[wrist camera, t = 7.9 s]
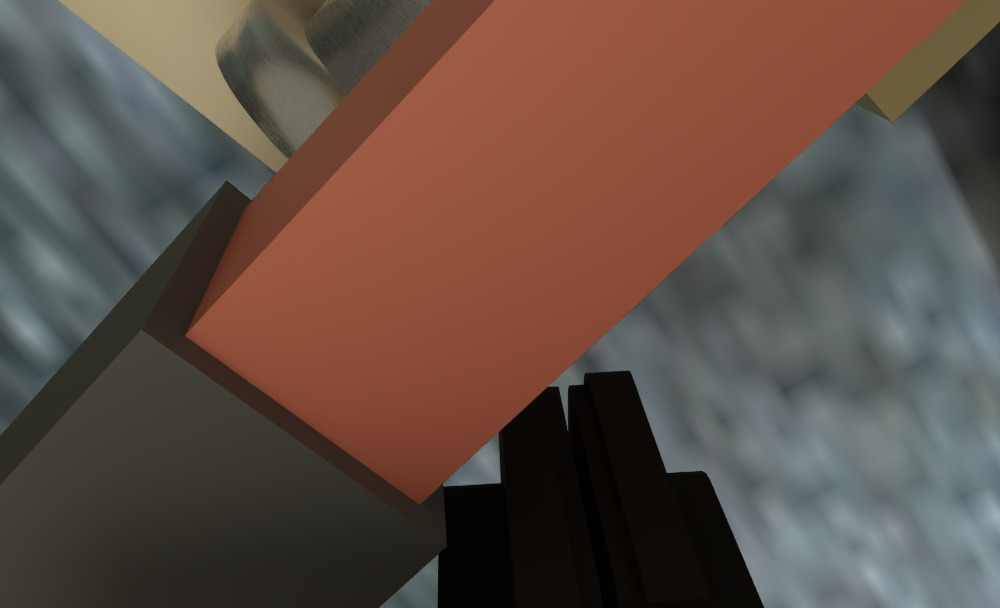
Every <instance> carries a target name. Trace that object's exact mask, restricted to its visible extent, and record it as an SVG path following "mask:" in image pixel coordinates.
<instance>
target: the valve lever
mask: <svg viewBox="0 0 1000 608" xmlns="http://www.w3.org/2000/svg"><path fill="white" fill-rule="evenodd" d="M965 1H966V0H433V1H432V2H431V3H430V4H429V5H428V6H427V7H426V8H425V9H424V11H423V12H422V13H421V14H420V15H419V16H418V17H417V18H416V19H415V20H414V22H413V23H412V24H411V25H410V26H409V27H408V28H407V29H406V30H405V32H404V33H403V34H402V35H401V36H400V37H399V38H398V39H397V40H396V42H395V43H394V44H393V45H392V46H391V47H390V48H389V49H388V50H387V51H386V53H385V54H384V55H383V56H382V57H381V58H380V59H379V60H378V61H377V63H376V64H375V65H374V66H373V67H372V68H371V69H370V70H369V71H368V73H367V74H366V75H365V76H364V77H363V78H362V79H361V80H360V81H359V82H358V84H357V85H356V86H355V87H354V88H353V89H352V90H351V91H350V92H349V94H348V95H347V96H346V97H345V98H344V99H343V100H342V101H341V102H340V104H339V105H338V106H337V107H336V108H335V109H334V110H333V111H332V112H331V113H330V115H329V116H328V117H327V118H326V119H325V120H324V121H323V122H322V123H321V125H320V126H319V127H318V128H317V129H316V130H315V131H314V132H313V133H312V135H311V136H310V137H309V138H308V139H307V140H306V141H305V142H304V143H303V145H302V146H301V147H300V148H299V149H298V150H297V151H296V152H295V153H294V154H293V156H292V157H291V158H290V159H289V160H288V161H287V162H286V163H285V164H284V166H283V167H282V168H281V169H280V170H279V171H278V172H277V173H276V174H275V176H274V177H273V178H272V179H271V180H270V181H269V182H268V183H267V184H266V185H265V187H264V188H263V189H262V190H261V191H260V192H259V193H258V194H257V195H256V197H255V198H254V199H253V200H250V199H249V198H248V197H247V196H245V195H244V194H243V193H242V192H240V191H239V190H238V189H237V188H235V187H234V186H233V185H232V184H230V183H229V182H228V181H226V182H225V183H224V184H223V185H222V187H221V188H220V189H219V190H218V191H217V192H216V193H215V194H214V196H213V197H212V198H211V199H210V200H209V201H208V202H207V203H206V205H205V206H204V207H203V208H202V209H201V210H200V211H199V212H198V214H197V215H196V216H195V217H194V218H193V219H192V220H191V221H190V223H189V224H188V225H187V226H186V227H185V228H184V229H183V231H182V232H181V233H180V234H179V235H178V236H177V237H176V238H175V240H174V241H173V242H172V243H171V244H170V245H169V246H168V247H167V249H166V250H165V251H164V252H163V253H162V254H161V255H160V256H159V258H158V259H157V260H156V261H155V262H154V263H153V264H152V265H151V267H150V268H149V269H148V270H147V271H146V272H145V273H144V274H143V276H142V277H141V278H140V279H139V280H138V281H137V282H136V283H135V285H134V286H133V287H132V288H131V289H130V290H129V291H128V292H127V294H126V295H125V296H124V297H123V298H122V299H121V300H120V301H119V303H118V304H117V305H116V306H115V307H114V308H113V309H112V311H111V312H110V313H109V314H108V315H107V316H106V317H105V318H104V320H103V321H102V322H101V323H100V324H99V325H98V326H97V327H96V329H95V330H94V331H93V332H92V333H91V334H90V335H89V336H88V338H87V339H86V340H85V341H84V342H83V343H82V344H81V345H80V347H79V348H78V349H77V350H76V351H75V352H74V353H73V354H72V356H71V357H70V358H69V359H68V360H67V361H66V362H65V363H64V365H63V366H62V367H61V368H60V369H59V370H58V371H57V372H56V374H55V375H54V376H53V377H52V378H51V379H50V380H49V381H48V383H47V384H46V385H45V386H44V387H43V388H42V389H41V390H40V392H39V393H38V394H37V395H36V396H35V397H34V398H33V400H32V401H31V402H30V403H29V404H28V405H27V406H26V407H25V409H24V410H23V411H22V412H21V413H20V414H19V415H18V416H17V418H16V419H15V420H14V421H13V422H12V423H11V424H10V425H9V427H8V428H7V429H6V430H5V431H4V432H3V433H2V434H1V436H0V608H379V607H380V606H381V605H382V604H383V603H384V602H386V601H387V600H388V599H389V598H390V597H391V596H392V595H393V594H394V593H396V592H397V591H398V590H399V589H400V588H401V587H402V586H403V585H405V584H406V583H407V582H408V581H409V580H410V579H411V578H412V577H413V576H415V575H416V574H417V573H418V572H419V571H420V570H421V569H422V568H423V567H425V566H426V565H427V564H428V563H429V562H430V561H431V560H432V559H433V558H435V557H436V556H437V555H438V554H439V553H440V552H441V551H442V550H443V549H445V548H446V547H447V539H446V523H445V507H444V491H443V483H444V482H445V481H446V480H447V479H448V478H449V477H450V476H452V475H453V474H454V473H455V472H456V471H457V470H458V469H459V468H460V467H461V466H462V465H463V464H465V463H466V462H467V461H468V460H469V459H470V458H471V457H472V456H473V455H474V454H475V453H476V452H478V451H479V450H480V449H481V448H482V447H483V446H484V445H485V444H486V443H487V442H488V441H489V440H491V439H492V438H493V437H494V436H495V435H496V434H497V433H498V432H499V431H500V430H501V429H502V428H504V427H505V426H506V425H507V424H508V423H509V422H510V421H511V420H512V419H513V418H514V417H515V416H517V415H518V414H519V413H520V412H521V411H522V410H523V409H524V408H525V407H526V406H527V405H528V404H530V403H531V402H532V401H533V400H534V399H535V398H536V397H537V396H538V395H539V394H540V393H541V392H543V391H544V390H545V389H546V388H547V387H548V386H549V385H550V384H551V383H552V382H553V381H554V380H556V379H557V378H558V377H559V376H560V375H561V374H562V373H563V372H564V371H565V370H566V369H567V368H569V367H570V366H571V365H572V364H573V363H574V362H575V361H576V360H577V359H578V358H579V357H580V356H582V355H583V354H584V353H585V352H586V351H587V350H588V349H589V348H590V347H591V346H592V345H593V344H594V343H596V342H597V341H598V340H599V339H600V338H601V337H602V336H603V335H604V334H605V333H606V332H607V331H609V330H610V329H611V328H612V327H613V326H614V325H615V324H616V323H617V322H618V321H619V320H620V319H622V318H623V317H624V316H625V315H626V314H627V313H628V312H629V311H630V310H631V309H632V308H633V307H635V306H636V305H637V304H638V303H639V302H640V301H641V300H642V299H643V298H644V297H645V296H646V295H648V294H649V293H650V292H651V291H652V290H653V289H654V288H655V287H656V286H657V285H658V284H659V283H661V282H662V281H663V280H664V279H665V278H666V277H667V276H668V275H669V274H670V273H671V272H672V271H674V270H675V269H676V268H677V267H678V266H679V265H680V264H681V263H682V262H683V261H684V260H685V259H687V258H688V257H689V256H690V255H691V254H692V253H693V252H694V251H695V250H696V249H697V248H698V247H700V246H701V245H702V244H703V243H704V242H705V241H706V240H707V239H708V238H709V237H710V236H711V235H713V234H714V233H715V232H716V231H717V230H718V229H719V228H720V227H721V226H722V225H723V224H724V223H726V222H727V221H728V220H729V219H730V218H731V217H732V216H733V215H734V214H735V213H736V212H737V211H738V210H740V209H741V208H742V207H743V206H744V205H745V204H746V203H747V202H748V201H749V200H750V199H751V198H753V197H754V196H755V195H756V194H757V193H758V192H759V191H760V190H761V189H762V188H763V187H764V186H766V185H767V184H768V183H769V182H770V181H771V180H772V179H773V178H774V177H775V176H776V175H777V174H779V173H780V172H781V171H782V170H783V169H784V168H785V167H786V166H787V165H788V164H789V163H790V162H792V161H793V160H794V159H795V158H796V157H797V156H798V155H799V154H800V153H801V152H802V151H803V150H805V149H806V148H807V147H808V146H809V145H810V144H811V143H812V142H813V141H814V140H815V139H816V138H818V137H819V136H820V135H821V134H822V133H823V132H824V131H825V130H826V129H827V128H828V127H829V126H831V125H832V124H833V123H834V122H835V121H836V120H837V119H838V118H839V117H840V116H841V115H842V114H844V113H845V112H846V111H847V110H848V109H849V108H850V107H851V106H852V105H853V104H854V103H855V102H857V101H858V100H859V99H860V98H861V97H862V96H863V95H864V94H865V93H866V92H867V91H868V90H870V89H871V88H872V87H873V86H874V85H875V84H876V83H877V82H878V81H879V80H880V79H881V78H882V77H884V76H885V75H886V74H887V73H888V72H889V71H890V70H891V69H892V68H893V67H894V66H895V65H897V64H898V63H899V62H900V61H901V60H902V59H903V58H904V57H905V56H906V55H907V54H908V53H910V52H911V51H912V50H913V49H914V48H915V47H916V46H917V45H918V44H919V43H920V42H921V41H923V40H924V39H925V38H926V37H927V36H928V35H929V34H930V33H931V32H932V31H933V30H934V29H936V28H937V27H938V26H939V25H940V24H941V23H942V22H943V21H944V20H945V19H946V18H947V17H949V16H950V15H951V14H952V13H953V12H954V11H955V10H956V9H957V8H958V7H959V6H960V5H962V4H963V3H964V2H965Z"/></svg>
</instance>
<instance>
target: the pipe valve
mask: <svg viewBox="0 0 1000 608" xmlns="http://www.w3.org/2000/svg"><path fill="white" fill-rule="evenodd" d="M432 1H433V0H326V1H325V3H324V4H323V5H322V6H321V8H320V9H319V10H316V9H315V8H313V7H311V6H310V5H308V4H306V3H305V2H303V1H301V0H251V1H250V2H249V4H248V5H247V6H246V7H245V9H244V10H243V11H242V12H241V14H240V15H239V16H238V17H237V19H236V20H235V21H234V22H233V24H232V25H231V26H230V27H229V29H228V30H227V31H226V32H225V34H224V35H223V36H222V37H221V39H220V40H219V41H218V43H217V45H216V46H215V56H216V60H217V64H218V66H219V68H220V71H221V73H222V75H223V77H224V79H225V81H226V82H227V84H228V86H229V88H230V89H231V91H232V93H233V94H234V95H235V97H236V98H237V100H238V101H239V103H240V104H241V105H242V107H243V108H244V110H245V111H246V112H247V113H248V115H249V116H250V117H251V118H252V120H253V121H254V122H255V123H256V125H257V126H258V127H259V128H260V129H261V131H262V132H263V133H264V134H265V135H266V136H267V137H268V138H269V140H270V141H271V142H272V143H273V144H274V145H275V146H276V147H277V148H278V150H279V151H280V152H281V153H282V154H283V155H284V156H285V157H286V158H287V159H288V160H289V159H290V158H291V157H292V156H293V154H294V153H295V152H296V151H297V150H298V149H299V148H300V147H301V146H302V145H303V143H304V142H305V141H306V140H307V139H308V138H309V137H310V136H311V135H312V133H313V132H314V131H315V130H316V129H317V128H318V127H319V126H320V125H321V123H322V122H323V121H324V120H325V119H326V118H327V117H328V116H329V115H330V113H331V112H332V111H333V110H334V109H335V108H336V107H337V106H338V105H339V104H340V102H341V101H342V100H343V99H344V98H345V97H346V96H347V95H348V94H349V92H350V91H351V90H352V89H353V88H354V87H355V86H356V85H357V84H358V82H359V81H360V80H361V79H362V78H363V77H364V76H365V75H366V74H367V73H368V71H369V70H370V69H371V68H372V67H373V66H374V65H375V64H376V63H377V61H378V60H379V59H380V58H381V57H382V56H383V55H384V54H385V53H386V51H387V50H388V49H389V48H390V47H391V46H392V45H393V44H394V43H395V42H396V40H397V39H398V38H399V37H400V36H401V35H402V34H403V33H404V32H405V30H406V29H407V28H408V27H409V26H410V25H411V24H412V23H413V22H414V20H415V19H416V18H417V17H418V16H419V15H420V14H421V13H422V12H423V11H424V9H425V8H426V7H427V6H428V5H429V4H430V3H431V2H432ZM999 22H1000V0H966V1H965V2H964V3H963V4H962V5H960V6H959V7H958V8H957V9H956V10H955V11H954V12H953V13H952V14H951V15H950V16H949V17H947V18H946V19H945V20H944V21H943V22H942V23H941V24H940V25H939V26H938V27H937V28H936V29H934V30H933V31H932V32H931V33H930V34H929V35H928V36H927V37H926V38H925V39H924V40H923V41H921V42H920V43H919V44H918V45H917V46H916V47H915V48H914V49H913V50H912V51H911V52H910V53H908V54H907V55H906V56H905V57H904V58H903V59H902V60H901V61H900V62H899V63H898V64H897V65H895V66H894V67H893V68H892V69H891V70H890V71H889V72H888V73H887V74H886V75H885V76H884V77H882V78H881V79H880V80H879V81H878V82H877V83H876V84H875V85H874V86H873V87H872V88H871V89H870V90H868V91H867V92H866V93H865V94H864V95H863V96H862V97H861V98H860V99H859V100H858V101H857V102H855V104H857V105H859V106H861V107H863V108H865V109H867V110H869V111H871V112H872V113H874V114H876V115H878V116H880V117H882V118H884V119H886V120H888V121H890V122H892V123H893V122H894V121H895V120H896V119H897V118H898V117H899V116H900V115H901V114H902V113H904V112H905V111H906V110H907V109H908V108H909V107H910V106H911V105H912V104H913V103H914V102H915V101H916V100H917V99H918V98H919V97H920V96H922V95H923V94H924V93H925V92H926V91H927V90H928V89H929V88H930V87H931V86H932V85H933V84H934V83H935V82H936V81H937V80H939V79H940V78H941V77H942V76H943V75H944V74H945V73H946V72H947V71H948V70H949V69H950V68H951V67H952V66H953V65H954V64H955V63H957V62H958V61H959V60H960V59H961V58H962V57H963V56H964V55H965V54H966V53H967V52H968V51H969V50H970V49H971V48H972V47H974V46H975V45H976V44H977V43H978V42H979V41H980V40H981V39H982V38H983V37H984V36H985V35H986V34H987V33H988V32H989V31H991V30H992V29H993V28H994V27H995V26H996V25H997V24H998V23H999Z"/></svg>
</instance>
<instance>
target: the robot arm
mask: <svg viewBox="0 0 1000 608" xmlns="http://www.w3.org/2000/svg"><path fill="white" fill-rule="evenodd" d="M499 450H500V473H501V483H496V484H480V485H463V486H446V487H443V491H444V507H445V523H446V539H447V547H446V548H445V549H443V550H442V551H441V552H440V553H439V557H438V608H764V606H763V604H762V602H761V599H760V597H759V594H758V592H757V590H756V587H755V585H754V583H753V580H752V578H751V576H750V573H749V571H748V568H747V566H746V564H745V561H744V559H743V557H742V554H741V552H740V550H739V547H738V545H737V542H736V540H735V538H734V535H733V533H732V531H731V528H730V526H729V523H728V521H727V519H726V516H725V514H724V512H723V509H722V507H721V505H720V502H719V500H718V497H717V495H716V493H715V490H714V488H713V486H712V483H711V481H710V479H709V477H708V476H707V474H706V473H705V472H703V471H694V472H678V473H667V472H666V469H665V467H664V464H663V461H662V458H661V455H660V453H659V450H658V447H657V444H656V441H655V439H654V436H653V433H652V430H651V427H650V425H649V422H648V419H647V416H646V413H645V411H644V408H643V405H642V402H641V399H640V397H639V394H638V391H637V388H636V385H635V383H634V380H633V377H632V374H631V372H630V371H614V372H597V373H585V376H584V385H572V386H569V388H568V430H567V425H566V420H565V415H564V411H563V406H562V401H561V396H560V391H559V387H558V386H556V387H547V388H546V389H545V390H544V391H543V392H541V393H540V394H539V395H538V396H537V397H536V398H535V399H534V400H533V401H532V402H531V403H530V404H528V405H527V406H526V407H525V408H524V409H523V410H522V411H521V412H520V413H519V414H518V415H517V416H515V417H514V418H513V419H512V420H511V421H510V422H509V423H508V424H507V425H506V426H505V427H504V428H502V429H501V430H500V431H499Z"/></svg>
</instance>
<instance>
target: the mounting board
mask: <svg viewBox="0 0 1000 608" xmlns="http://www.w3.org/2000/svg"><path fill="white" fill-rule="evenodd" d="M58 1H60V2H61V3H62V4H64V5H65V6H66V7H67V8H69V9H70V10H71V11H72V12H74V13H75V14H76V15H77V16H79V17H80V18H81V19H82V20H84V21H85V22H86V23H88V24H89V25H90V26H91V27H93V28H94V29H95V30H96V31H98V32H99V33H100V34H101V35H103V36H104V37H105V38H106V39H108V40H109V41H110V42H112V43H113V44H114V45H115V46H117V47H118V48H119V49H120V50H122V51H123V52H124V53H125V54H127V55H128V56H129V57H131V58H132V59H133V60H134V61H136V62H137V63H138V64H139V65H141V66H142V67H143V68H144V69H146V70H147V71H148V72H149V73H151V74H152V75H153V76H155V77H156V78H157V79H158V80H160V81H161V82H162V83H163V84H165V85H166V86H167V87H168V88H170V89H171V90H172V91H173V92H175V93H176V94H177V95H179V96H180V97H181V98H182V99H184V100H185V101H186V102H187V103H189V104H190V105H191V106H192V107H194V108H195V109H196V110H197V111H199V112H200V113H201V114H203V115H204V116H205V117H206V118H208V119H209V120H210V121H211V122H213V123H214V124H215V125H216V126H218V127H219V128H220V129H222V130H223V131H224V132H225V133H227V134H228V135H229V136H230V137H232V138H233V139H234V140H235V141H237V142H238V143H239V144H240V145H242V146H243V147H244V148H246V149H247V150H248V151H249V152H251V153H252V154H253V155H254V156H256V157H257V158H258V159H259V160H261V161H262V162H263V163H264V164H266V165H267V166H268V167H270V168H271V169H272V170H273V171H275V172H276V173H277V172H278V171H279V170H280V169H281V168H282V167H283V166H284V164H285V163H286V162H287V161H288V159H287V158H286V157H285V156H284V155H283V154H282V153H281V152H280V151H279V150H278V148H277V147H276V146H275V145H274V144H273V143H272V142H271V141H270V140H269V138H268V137H267V136H266V135H265V134H264V133H263V132H262V131H261V129H260V128H259V127H258V126H257V125H256V123H255V122H254V121H253V120H252V118H251V117H250V116H249V115H248V113H247V112H246V111H245V110H244V108H243V107H242V105H241V104H240V103H239V101H238V100H237V98H236V97H235V95H234V94H233V93H232V91H231V89H230V88H229V86H228V84H227V82H226V81H225V79H224V77H223V75H222V73H221V71H220V68H219V66H218V64H217V60H216V56H215V46H216V45H217V43H218V41H219V40H220V39H221V37H222V36H223V35H224V34H225V32H226V31H227V30H228V29H229V27H230V26H231V25H232V24H233V22H234V21H235V20H236V19H237V17H238V16H239V15H240V14H241V12H242V11H243V10H244V9H245V7H246V6H247V5H248V4H249V2H250V1H251V0H58ZM301 1H303V2H305V3H306V4H308V5H310V6H311V7H313V8H315V9H316V10H319V9H320V8H321V6H322V5H323V4H324V3H325V1H326V0H301Z"/></svg>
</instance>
